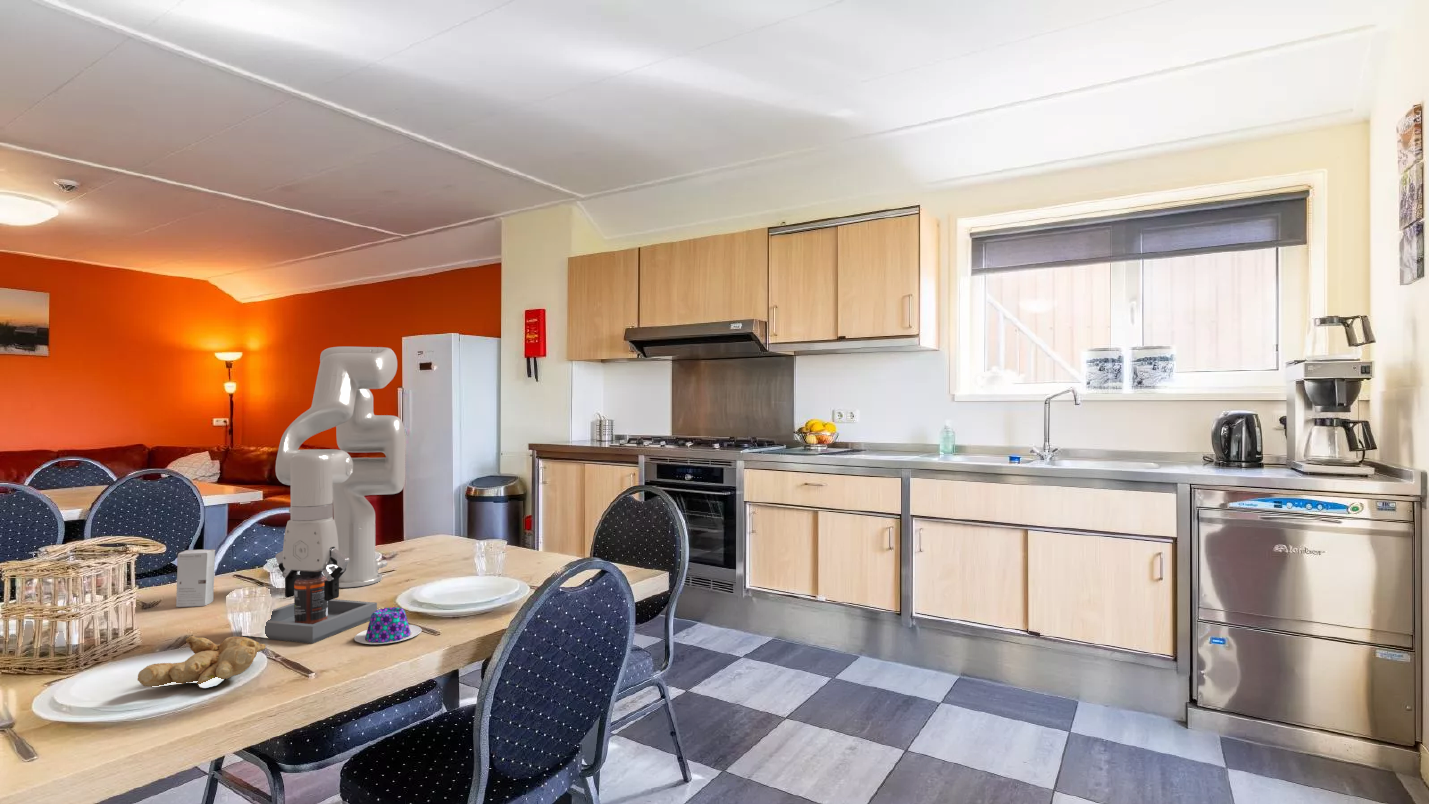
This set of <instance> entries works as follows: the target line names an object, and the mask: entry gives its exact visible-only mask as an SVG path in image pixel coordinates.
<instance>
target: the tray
mask: <svg viewBox="0 0 1429 804" xmlns="http://www.w3.org/2000/svg"><path fill="white" fill-rule="evenodd" d="M272 610H273V611H272V615H271V619H270V620H268V621H267V622H266V626H265V634H266V636H267V637H268V638H269V639H268V640H271V641H272V640H274V641H285V642H291V643H292V642H295V643H303V644H315V643H317V642H320V641H323V640H325V639H327V638H328V639H329V638H330V637H332V636H334V635H338V634H340V633H343V632H346V631H347V630H350V629H352V628H353V629H354V627H355V628H356V627H357V626H360V625H363V624H366V623H367V622H368V623H369V622H370V618H371V615H372V613H373V612H375V611H376V610H378V603H377V602H373V601H361V600H348V599H337V598H335V599H332V600H329V601H328V617H327V619H326V620H323V621H320V622H317V623H315V624H304V623H295V618H294V602H293V603H289V604H287V605H284V606H280V607H277V608H274V609H272Z"/></svg>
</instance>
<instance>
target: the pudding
mask: <svg viewBox="0 0 1429 804" xmlns="http://www.w3.org/2000/svg"><path fill="white" fill-rule="evenodd" d="M406 613H407V612H406V611H405V609H404V608H401V607H397V606H393V607H384V608H380V609H377V610H376V611H375V612H373V613H372V615H371V618H370V621H368V626H367V629H365V630H363V631H360V632H359V633H357V634H356V635H354V637H353V640H354V641H355V642H357V643H360V644H365V645H387V644H392V643H397V642H401V641H407V640H409V639H412V638H414V637H416V636H418V635H419V634H420V633H422V628H421V627H420V626H418V625H415V624H409V622H408V621H409V620H408V618H407V614H406ZM366 640H367V641H366Z"/></svg>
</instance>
